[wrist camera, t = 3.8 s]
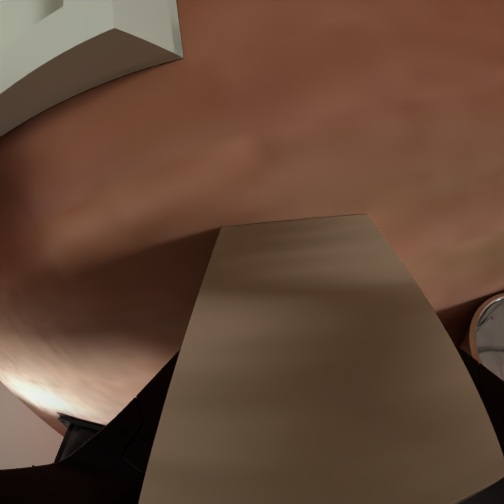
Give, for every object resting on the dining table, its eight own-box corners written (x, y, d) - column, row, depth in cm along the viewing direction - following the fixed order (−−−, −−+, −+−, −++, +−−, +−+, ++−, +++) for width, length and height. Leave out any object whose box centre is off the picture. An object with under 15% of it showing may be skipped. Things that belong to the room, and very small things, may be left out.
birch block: (242, 333, 11) (220, 544, 4) (221, 227, 9) (133, 521, 2) (357, 323, 11) (405, 526, 4) (366, 214, 8) (509, 473, 1)
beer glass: (484, 477, 11) (602, 360, 3) (407, 515, 11) (515, 450, 4) (458, 415, 17) (529, 274, 10) (387, 445, 17) (436, 314, 10)
